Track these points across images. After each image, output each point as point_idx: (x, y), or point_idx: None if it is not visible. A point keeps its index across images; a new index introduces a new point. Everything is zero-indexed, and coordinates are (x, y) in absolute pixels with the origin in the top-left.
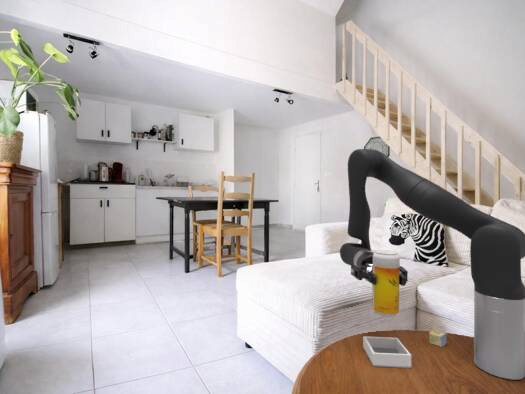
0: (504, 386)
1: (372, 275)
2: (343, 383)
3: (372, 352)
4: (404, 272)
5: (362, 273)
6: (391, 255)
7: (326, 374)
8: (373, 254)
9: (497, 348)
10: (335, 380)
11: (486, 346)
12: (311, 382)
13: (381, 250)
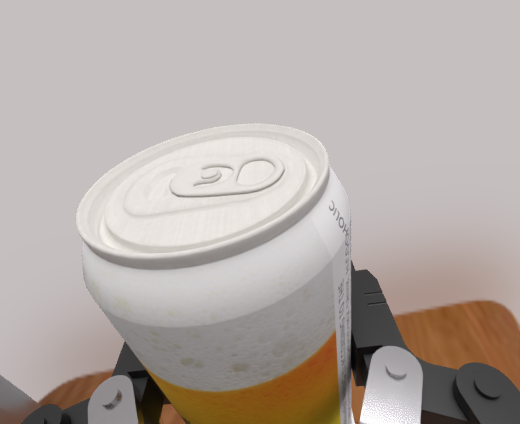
0: (82, 384)
1: (354, 271)
2: (416, 330)
3: (351, 409)
4: (62, 410)
5: (445, 370)
6: (206, 139)
7: (467, 355)
8: (343, 198)
9: (17, 388)
10: (437, 336)
11: (24, 409)
12: (487, 319)
13: (204, 248)
